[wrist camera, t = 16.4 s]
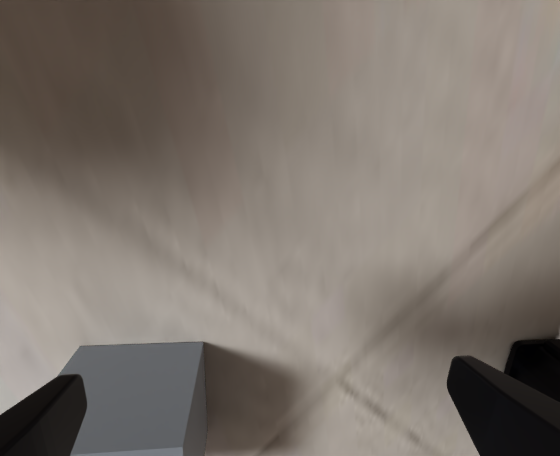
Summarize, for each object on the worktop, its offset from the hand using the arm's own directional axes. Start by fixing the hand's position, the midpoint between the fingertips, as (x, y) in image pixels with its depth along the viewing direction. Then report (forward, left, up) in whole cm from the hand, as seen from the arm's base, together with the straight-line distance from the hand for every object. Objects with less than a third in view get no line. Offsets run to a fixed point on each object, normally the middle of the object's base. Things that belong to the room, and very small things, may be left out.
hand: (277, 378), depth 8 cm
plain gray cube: (-12, +7, -12) cm, 18 cm away
